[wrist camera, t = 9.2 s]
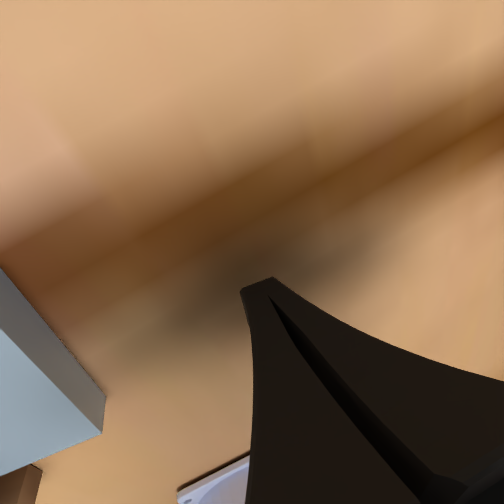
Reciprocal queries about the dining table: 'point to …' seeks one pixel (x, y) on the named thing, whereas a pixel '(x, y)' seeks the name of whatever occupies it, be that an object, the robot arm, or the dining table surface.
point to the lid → (40, 387)
